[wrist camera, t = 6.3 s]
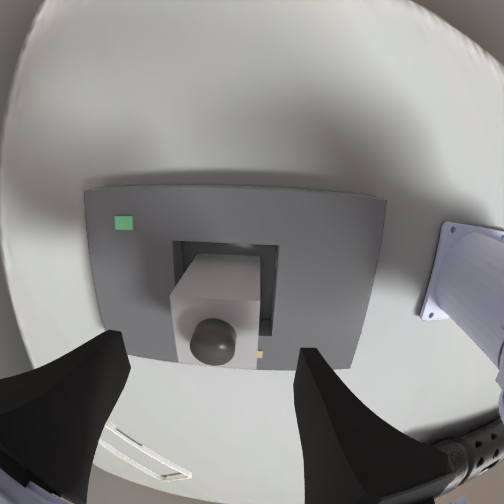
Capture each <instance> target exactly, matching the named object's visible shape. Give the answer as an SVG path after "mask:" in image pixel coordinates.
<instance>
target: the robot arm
mask: <svg viewBox="0 0 504 504" xmlns="http://www.w3.org/2000/svg"><path fill="white" fill-rule="evenodd" d="M452 227H453V230H452V231H451V228H452ZM430 313H431V314H430ZM429 314H430V315H429ZM420 318H421V319H422V320H423V321H427V320H438V319H448V318H451V319H452V320H453V321H454V322H455V323H456V324H457V325H458V326H459V327H460V328H461V329H462V330H463V331H464V332H465V333H466V334H467V335H468V336H469V337H470V338H471V339H472V340H473V341H474V342H475V343H476V344H477V345H478V346H479V348H480V349H481V350H482V351H483V352H484V353H485V354H486V355H487V356H488V357H489V359H490V360H491V361H492V362H493V363H494V364H495V365H496V367H497V368H498V369H499V373H498V375H497V377H496V379H495V381H496V382H497V383H498V384H499V386H500V387H501V388H502V391H501V394H500V396H499V413H500V416H501V420H502V422H503V424H504V231H500V230H495V229H489V228H484V227H478V226H472V225H466V224H460V223H454V222H444V223H443V225H442V228H441V234H440V239H439V244H438V249H437V254H436V258H435V263H434V267H433V271H432V275H431V279H430V283H429V286H428V290H427V293H426V297H425V300H424V303H423V306H422V310H421V313H420ZM130 369H131V366H130V363H129V359H128V356H127V352H126V348H125V344H124V340H123V336H122V332H121V331H115V330H110V329H109V330H107V331H105V332H103V333H101V334H100V335H98V336H96V337H94V338H93V339H91V340H89V341H88V342H86V343H84V344H83V345H81V346H79V347H78V348H76V349H74V350H73V351H71V352H69V353H67V354H65V355H63V356H62V357H60V358H58V359H56V360H54V361H52V362H50V363H48V364H46V365H44V366H41V367H39V368H36V369H34V370H31V371H29V372H25V373H22V374H19V375H16V376H12V377H8V378H4V379H0V504H68V503H66V502H64V501H63V500H61V499H59V498H57V497H56V496H54V495H52V493H53V494H55V495H57V496H59V497H63V498H64V499H66V500H68V501H70V502H72V503H74V504H86V501H87V491H88V490H87V489H88V482H89V477H90V472H91V467H92V462H93V459H94V455H95V451H96V448H97V445H98V442H99V439H100V436H101V433H102V430H103V428H104V426H105V424H106V422H107V420H108V418H109V416H110V414H111V412H112V410H113V408H114V406H115V404H116V402H117V400H118V398H119V396H120V395H121V393H122V391H123V389H124V386H125V384H126V381H127V378H128V375H129V372H130ZM293 387H294V406H295V412H296V417H297V423H298V428H299V434H300V439H301V445H302V451H303V459H304V479H305V504H435V502H434V498H433V496H435V495H436V494H437V493H439V492H440V491H441V490H443V489H444V488H445V487H446V486H448V485H449V484H450V483H451V482H452V481H453V480H454V479H455V477H456V471H455V469H454V467H453V464H452V462H451V460H450V458H449V456H448V454H447V453H445V452H442V451H439V450H437V449H434V448H432V447H429V446H427V445H424V444H422V443H420V442H418V441H416V440H414V439H412V438H410V437H409V436H407V435H405V434H403V433H402V432H400V431H398V430H397V429H395V428H394V427H392V426H391V425H389V424H388V423H387V422H385V421H384V420H382V419H381V418H380V417H378V416H377V415H376V414H375V413H374V412H372V411H371V410H370V409H369V408H368V407H366V406H365V405H364V404H363V403H362V402H361V401H360V400H359V399H358V398H357V397H356V396H355V395H354V394H353V393H352V392H351V391H350V389H349V388H348V387H347V386H346V385H345V384H344V383H343V381H342V380H341V379H340V378H339V377H338V376H337V374H336V373H335V372H334V371H333V369H332V368H331V367H330V365H329V364H328V363H327V361H326V360H325V359H324V357H323V356H322V355H321V353H320V352H319V350H318V349H317V348H316V347H313V348H300V352H299V357H298V363H297V368H296V373H295V379H294V384H293ZM450 504H469V502H468V500H467V497H466V496H463V497H461V498H460V499H458V500H456V501H454V502H452V503H450Z"/></svg>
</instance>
